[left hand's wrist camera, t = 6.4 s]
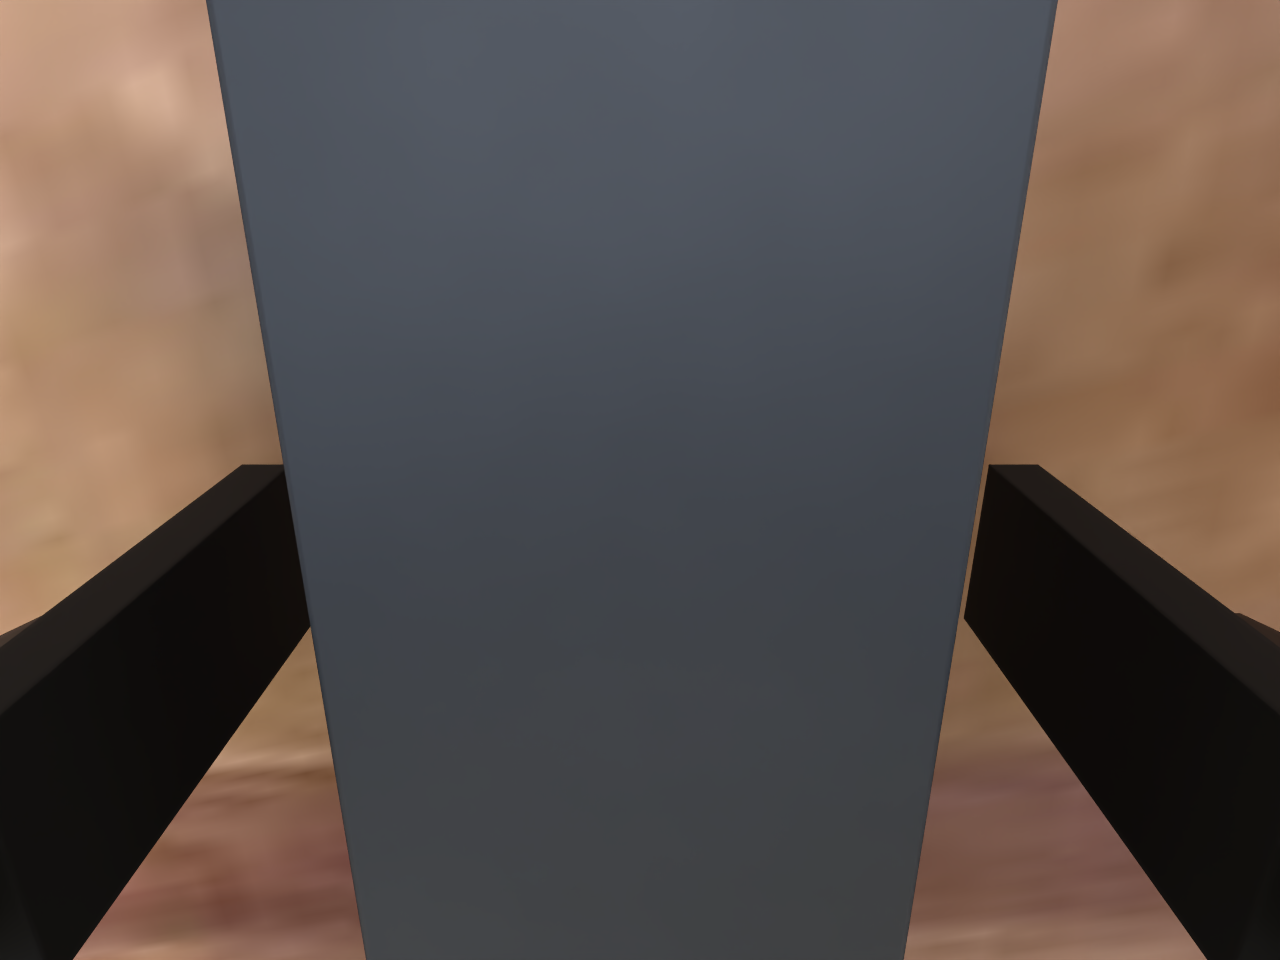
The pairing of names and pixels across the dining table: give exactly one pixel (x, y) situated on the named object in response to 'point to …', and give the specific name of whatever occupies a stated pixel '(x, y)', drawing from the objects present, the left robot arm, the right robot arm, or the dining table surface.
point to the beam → (633, 443)
